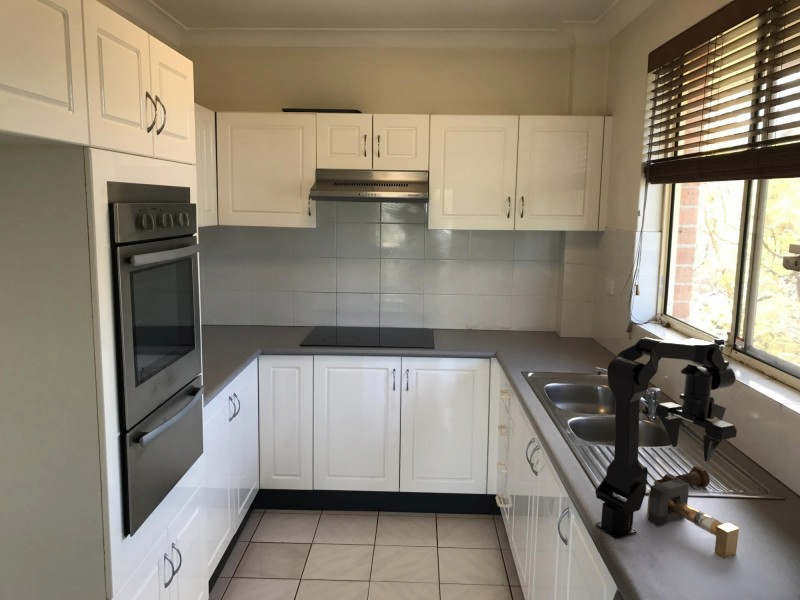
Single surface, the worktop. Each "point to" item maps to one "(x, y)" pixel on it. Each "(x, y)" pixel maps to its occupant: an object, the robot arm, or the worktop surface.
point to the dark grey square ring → (666, 501)
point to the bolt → (690, 477)
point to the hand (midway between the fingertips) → (690, 453)
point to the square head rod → (708, 527)
